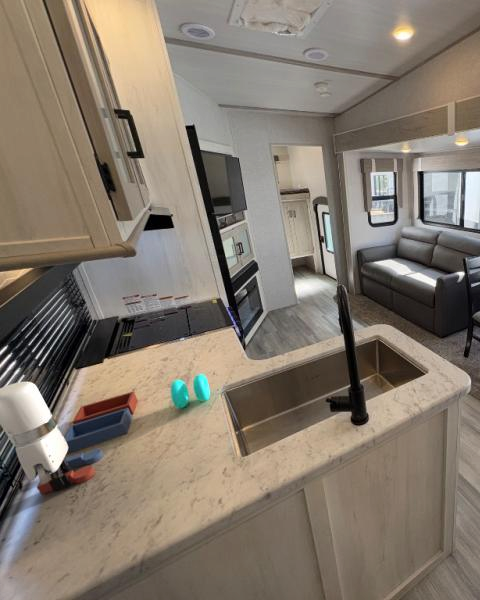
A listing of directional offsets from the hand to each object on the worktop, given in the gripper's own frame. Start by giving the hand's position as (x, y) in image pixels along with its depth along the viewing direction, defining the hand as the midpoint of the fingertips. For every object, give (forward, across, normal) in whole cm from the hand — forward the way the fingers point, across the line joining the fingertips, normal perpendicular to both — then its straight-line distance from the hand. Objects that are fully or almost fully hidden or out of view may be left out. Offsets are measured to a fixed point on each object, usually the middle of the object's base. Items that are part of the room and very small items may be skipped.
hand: (64, 483), depth 82 cm
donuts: (0, -20, +30) cm, 36 cm away
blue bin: (0, -19, +4) cm, 19 cm away
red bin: (0, -30, +4) cm, 30 cm away
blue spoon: (0, -7, +2) cm, 7 cm away
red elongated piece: (0, 0, +1) cm, 1 cm away
